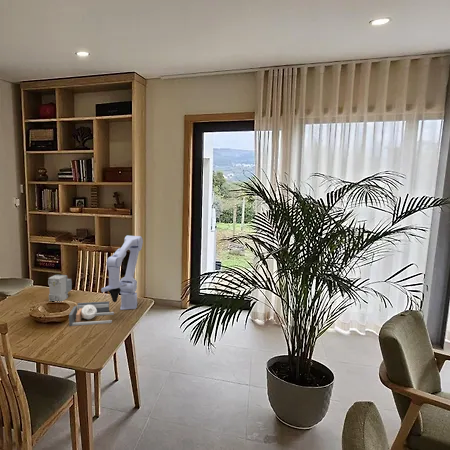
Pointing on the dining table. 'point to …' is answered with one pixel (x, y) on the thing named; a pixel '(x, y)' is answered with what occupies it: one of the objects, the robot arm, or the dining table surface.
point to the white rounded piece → (88, 312)
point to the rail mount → (100, 308)
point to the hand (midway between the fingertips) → (114, 301)
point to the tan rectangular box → (79, 315)
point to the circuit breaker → (59, 287)
